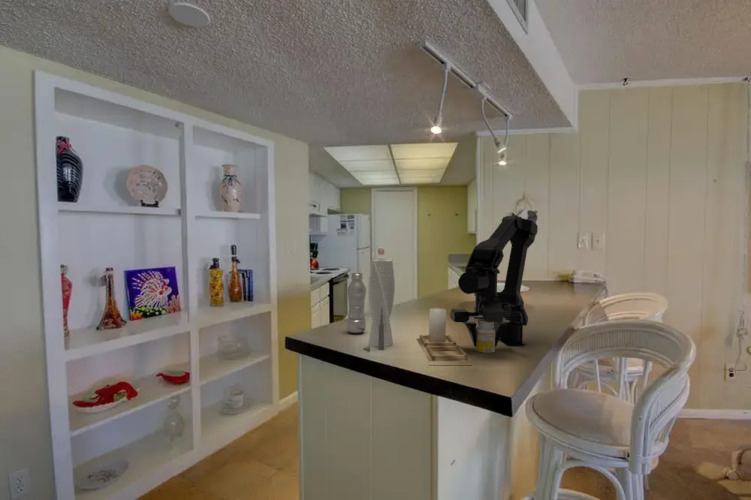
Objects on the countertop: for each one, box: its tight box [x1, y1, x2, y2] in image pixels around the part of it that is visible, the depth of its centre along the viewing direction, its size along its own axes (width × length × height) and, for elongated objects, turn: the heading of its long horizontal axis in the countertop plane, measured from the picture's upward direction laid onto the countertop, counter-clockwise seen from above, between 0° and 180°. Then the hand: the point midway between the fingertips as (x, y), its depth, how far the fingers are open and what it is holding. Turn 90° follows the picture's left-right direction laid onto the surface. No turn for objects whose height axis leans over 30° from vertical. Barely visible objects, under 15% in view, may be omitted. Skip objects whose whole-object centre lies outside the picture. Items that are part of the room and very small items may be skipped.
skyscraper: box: [362, 251, 396, 352], centre depth 114 cm, size 8×8×28 cm
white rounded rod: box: [428, 307, 447, 342], centre depth 117 cm, size 5×5×10 cm
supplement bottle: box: [474, 319, 496, 354], centre depth 110 cm, size 5×5×10 cm
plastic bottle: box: [346, 272, 367, 334], centre depth 133 cm, size 6×7×20 cm
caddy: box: [416, 334, 473, 367], centre depth 111 cm, size 11×22×2 cm, turn 3°
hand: (484, 346), depth 111 cm, fingers closed on supplement bottle, 5 cm apart
